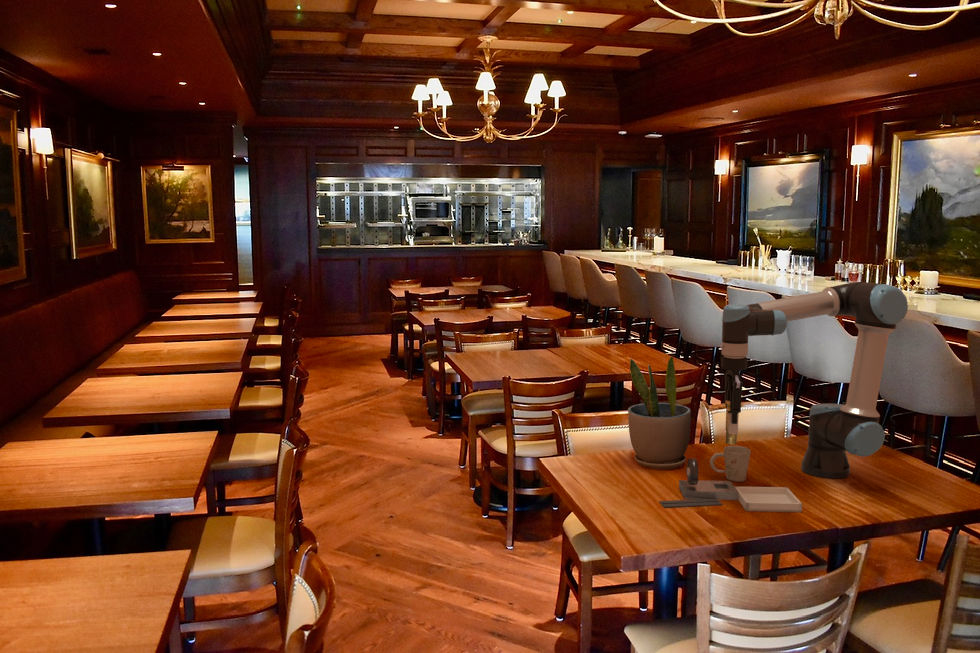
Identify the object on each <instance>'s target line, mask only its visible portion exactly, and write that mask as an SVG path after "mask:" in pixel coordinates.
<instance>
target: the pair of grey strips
mask: <svg viewBox="0 0 980 653" xmlns="http://www.w3.org/2000/svg"><path fill="white" fill-rule="evenodd" d="M658 503H659V504H660V505H661V506H662V507H663V509H671V508H672V509H673V508H689V507H690V508H691V507H692V508H693V507H694V508H695V507H713V506H716V507H717V506H723V503H722V502H721V501H720V500H718V499H675V500H674V499H672V500H659V501H658Z"/></svg>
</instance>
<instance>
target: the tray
mask: <svg viewBox="0 0 980 653" xmlns="http://www.w3.org/2000/svg"><path fill="white" fill-rule="evenodd" d="M735 488H736V489H737V491H738V492H739V494H738V500H737V501H738V502H739V503H740V504H741V506H742V507H743V509H744V510H745V511H746V512H768V513H769V512H776V513H777V512H778V513H779V512H780V513H802V512H803V503H802V502H801V501H800V500H799V499H798V498H797V497H796V495H795V494H794V493H793V492H792V491H791V490H790V488H789V487H786V486H785V487H784V486H783V487H782V486H781V487H780V486H778V487H777V486H735Z"/></svg>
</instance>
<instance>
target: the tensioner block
mask: <svg viewBox="0 0 980 653" xmlns="http://www.w3.org/2000/svg"><path fill="white" fill-rule="evenodd" d="M685 470H686V479H683V480H682V479H678V480H679V484H678V486H679V487H678V488H679V490H680V493H681V494H682V496H683V498H684V500H695V499H718V500H719V501H720V500H721V501H722V500H723V501H724V500H725V501H726V500H727V501H739V500H738V494H739V492H738V491H737V489H736V488H735V487H736V486H735V485H734V484H733V481H730V480H699V473H700V472H699V464H698V460H697V458H688V459H687V460H686V469H685Z"/></svg>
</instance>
